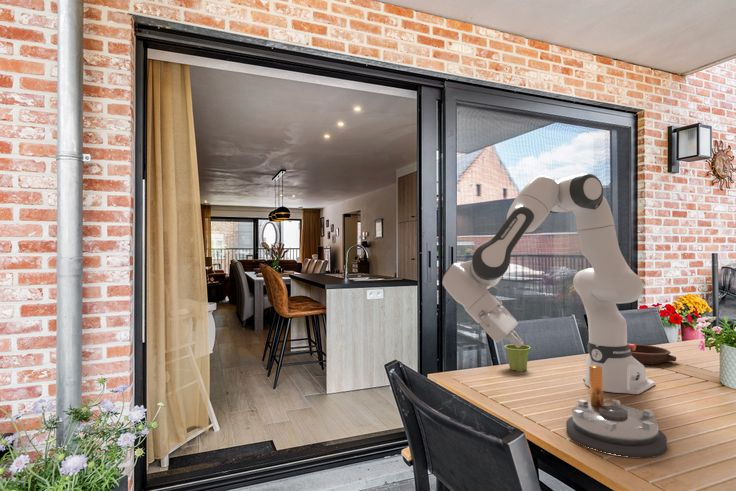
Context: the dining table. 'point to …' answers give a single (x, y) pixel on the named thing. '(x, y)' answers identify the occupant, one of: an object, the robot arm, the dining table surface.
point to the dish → (651, 354)
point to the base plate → (618, 449)
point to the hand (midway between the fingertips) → (521, 345)
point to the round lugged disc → (613, 417)
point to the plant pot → (517, 357)
